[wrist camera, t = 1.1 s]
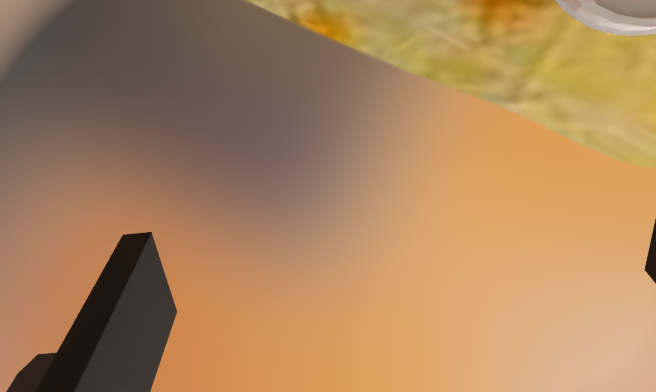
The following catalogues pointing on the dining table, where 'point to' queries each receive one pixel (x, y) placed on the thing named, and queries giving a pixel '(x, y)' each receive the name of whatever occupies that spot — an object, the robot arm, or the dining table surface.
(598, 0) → the disposable coffee cup
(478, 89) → the dining table surface
